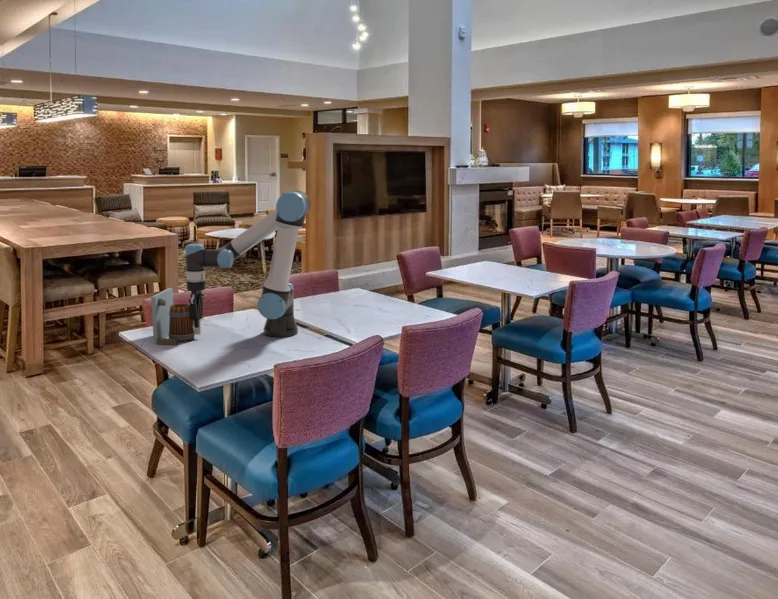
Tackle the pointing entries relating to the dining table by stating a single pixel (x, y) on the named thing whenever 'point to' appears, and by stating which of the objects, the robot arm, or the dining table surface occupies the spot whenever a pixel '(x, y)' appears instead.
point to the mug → (181, 323)
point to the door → (161, 313)
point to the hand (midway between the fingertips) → (198, 334)
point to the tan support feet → (167, 341)
